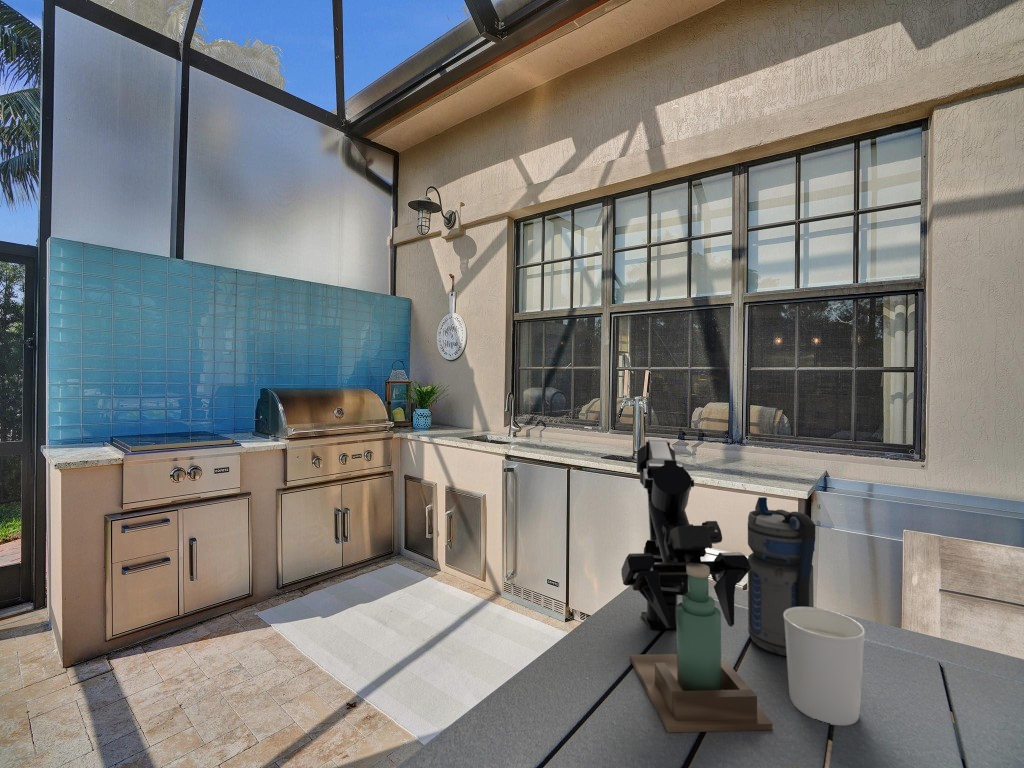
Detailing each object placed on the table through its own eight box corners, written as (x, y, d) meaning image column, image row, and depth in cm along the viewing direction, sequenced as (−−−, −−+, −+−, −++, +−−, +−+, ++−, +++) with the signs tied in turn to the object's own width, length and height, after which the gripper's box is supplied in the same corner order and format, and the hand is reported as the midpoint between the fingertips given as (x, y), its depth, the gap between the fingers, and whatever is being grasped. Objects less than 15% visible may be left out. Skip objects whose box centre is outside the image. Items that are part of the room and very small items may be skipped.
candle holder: (826, 736, 63) (825, 642, 64) (768, 691, 73) (767, 610, 73) (884, 723, 66) (883, 633, 66) (820, 681, 75) (819, 603, 76)
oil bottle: (669, 691, 71) (668, 565, 72) (691, 676, 75) (690, 557, 75) (707, 712, 67) (706, 577, 67) (729, 695, 70) (728, 567, 71)
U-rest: (629, 659, 81) (629, 636, 81) (712, 658, 82) (712, 635, 82) (667, 732, 64) (667, 702, 64) (772, 729, 64) (772, 700, 64)
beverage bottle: (784, 671, 78) (783, 513, 79) (734, 631, 91) (733, 496, 92) (840, 665, 80) (838, 511, 80) (783, 627, 93) (782, 495, 93)
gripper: (626, 501, 76) (649, 604, 64) (744, 500, 76) (787, 602, 65) (613, 537, 83) (632, 635, 72) (720, 536, 84) (755, 632, 73)
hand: (700, 626), depth 70 cm, fingers open, 9 cm apart
